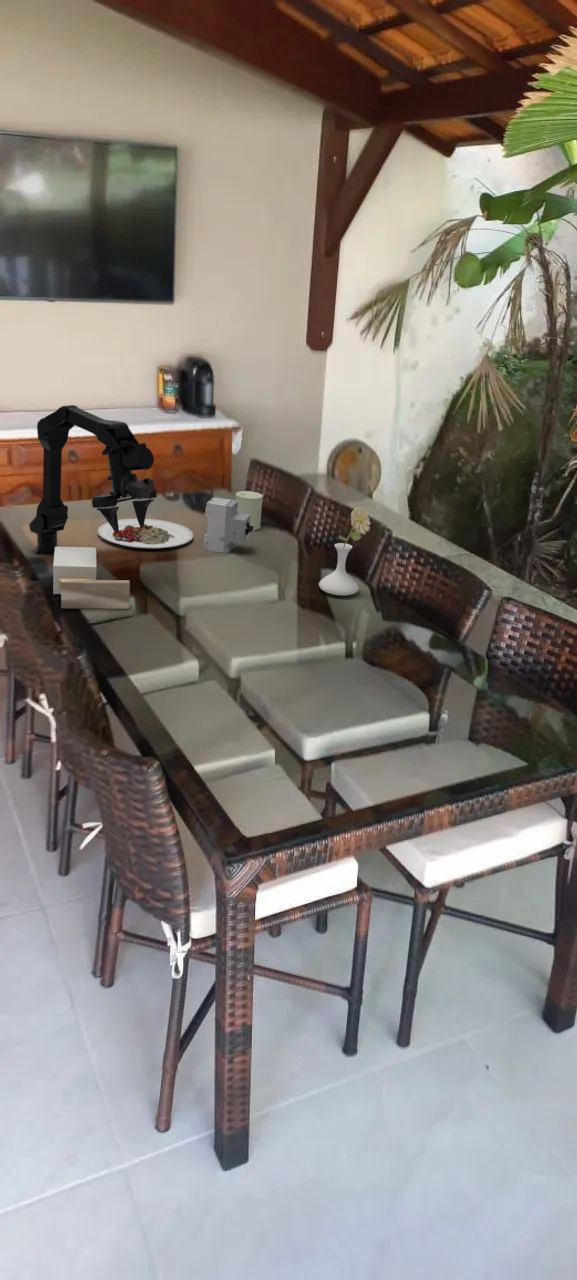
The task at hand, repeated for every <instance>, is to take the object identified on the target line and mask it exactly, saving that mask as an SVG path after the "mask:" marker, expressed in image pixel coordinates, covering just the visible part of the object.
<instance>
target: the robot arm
mask: <svg viewBox="0 0 577 1280" xmlns="http://www.w3.org/2000/svg"><path fill="white" fill-rule="evenodd" d="M74 427H77V428H80V429H82V430H84V431H87V432H89V433H91V434H93V435H94V436H95V437H96V439H97V441H98V442H100V443H101V444H103V445H104V446H105V448H104V450H102V451H101V455H102V456H107V461H108V468H109V473H110V475H109V476H107V481H111V488H112V491H109V494H101V495H98V496H97V495H96V496H93V497H92V499H91V506H92V508H94V509H95V508H96V510H97V511H99V512H100V513H101V514H102V516H103V517H104V518H105V520H106V521H107V523H108V522H109V524H110V526H111V527H112V529H113V530H114V532H115V533H118V532H119V527H118V520H119V518H118V510H119V508H120V506H117V504H118V503H121V502H126V501H131V502H132V505H133V510H134V513H135V516H136V518H137V520H138V523H139V525H140V527H143V526H144V522H145V519H146V517H147V511H148V508H149V505H150V504H152V503H153V502H154V501H155V500H154V499H156V498H157V490H156V489H155V483H154V479H153V478H151V477H147V478H143V480H139V479H138V477H137V474H136V473H133V471H147V470H150V469H151V468H153V465H154V462H155V456H154V454H153V452H152V451H151V449H149V448H148V447H147V444H146V442H141V443H140V442H139V441H138V439H137V438H136V436H135V435H134V434H133V432H132V431H131V429H130V428H129V425H128V424H127V423H126V422H124V421H120V420H109V419H104V418H102V417H99V416H97V415H95V414H94V413H91V412H88V411H86V410H83V409H81V408H80V407H78V406H77V405H75V404H70V405H62V406H61V407H59V408H58V409H57V410H55V411H54V412H52V413H50V414H48V415H46V416H45V417H42V418H41V419H39V420H38V421H37V425H36V431H37V432H36V433H37V439H38V441H39V443H40V445H41V447H42V448H43V458H42V459H43V461H42V462H43V468H42V472H43V473H42V499H41V500H40V502H39V504H38V505H37V507H36V514H35V517H34V518H33V520H31V522H30V523H29V524H28V526H29V530H30V532H31V533H34V534H36V540H37V541H36V543H37V544H36V546H35V554H36V555H38V554H39V555H54V553H55V547H60V546H59V545H58V532H59V531H60V532H61V531H64V529H65V526H66V523H67V520H68V519H69V517H68V512H69V511H68V510H69V507H68V505H66V504H64V502H63V500H62V464H63V463H62V460H63V459H62V458H63V456H62V455H63V454H62V453H63V452H62V451H63V449H64V447H65V446H66V443H67V442H68V439H69V433H70V430H72V429H73V428H74Z"/></svg>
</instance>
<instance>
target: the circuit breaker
mask: <svg viewBox="0 0 577 1280" xmlns="http://www.w3.org/2000/svg"><path fill="white" fill-rule="evenodd" d="M237 507H238V501H236V499H228V498H221V497H212V498H211V499H210V500H209V501H207V502H206V506H205V513H204V515H205V517H207V526H206V529H207V530H206V533H205V534H204V535H203V549H202V550H204V551H205V550H206V551H208V552H209V551H210V552H216V553H221V554H222V553H223V554H229V553H230V552H231V551H232V550H233V549H234V548H235V547H236V546H235V545H236V544H240V545H243V544H244V543H245V542H246V541H247V540H248V539H249V538H250V533H252V532H251V531H252V530H253V527H254V526H250V518H251V515H250V514H244V513H237ZM234 546H235V547H234Z"/></svg>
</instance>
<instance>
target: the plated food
mask: <svg viewBox="0 0 577 1280" xmlns="http://www.w3.org/2000/svg"><path fill="white" fill-rule="evenodd" d="M118 527H119V532H118V533H115V532H114V530H113V529H112V527H111V526H110V524H109V522H108V521H107V522H105V523H103V524H101V525H100V526H99V527H98V529H97V533H98V535H99V536H100V537H101V538H102V539H103V540H105V541H108V542H110V543H113V544H116V545H121V546H123V547H129V548H134V549H150V550H151V549H152V550H153V549H165V548H172V547H173V548H174V547H178V546H182V545H185V544H188V543H189V542H191V541H192V539H193V538H194V533H193V531H192V530H191V529H190V528H188V527H187V526H184V525H183V524H179V523H176V522H171V521H168V520H164V519H163V520H162V519H154V518H145V522H144V526H143V527H140V525H139V523H138V520H137V517H136V518H135V517H134V518H123V519H122V518H121V519H118Z"/></svg>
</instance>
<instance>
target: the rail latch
mask: <svg viewBox="0 0 577 1280" xmlns="http://www.w3.org/2000/svg"><path fill="white" fill-rule="evenodd" d="M61 580H91V579H59V590H61Z"/></svg>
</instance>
